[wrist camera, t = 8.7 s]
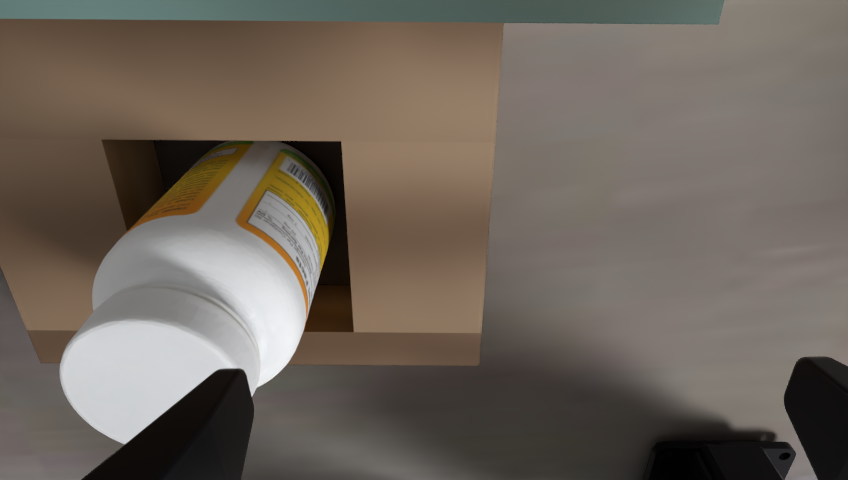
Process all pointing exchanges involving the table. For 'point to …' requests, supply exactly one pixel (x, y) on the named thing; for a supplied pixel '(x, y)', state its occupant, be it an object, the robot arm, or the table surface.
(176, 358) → the supplement bottle
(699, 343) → the table surface
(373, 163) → the socket plate
